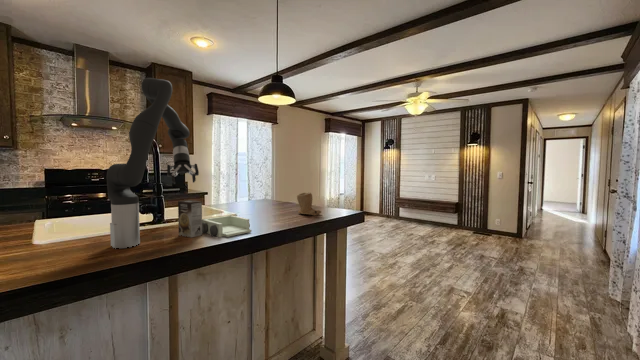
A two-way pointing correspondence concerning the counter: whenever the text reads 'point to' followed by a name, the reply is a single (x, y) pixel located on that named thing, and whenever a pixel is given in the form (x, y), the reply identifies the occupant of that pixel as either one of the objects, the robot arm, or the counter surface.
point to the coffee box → (190, 218)
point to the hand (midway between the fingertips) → (184, 182)
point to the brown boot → (306, 204)
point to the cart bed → (226, 226)
